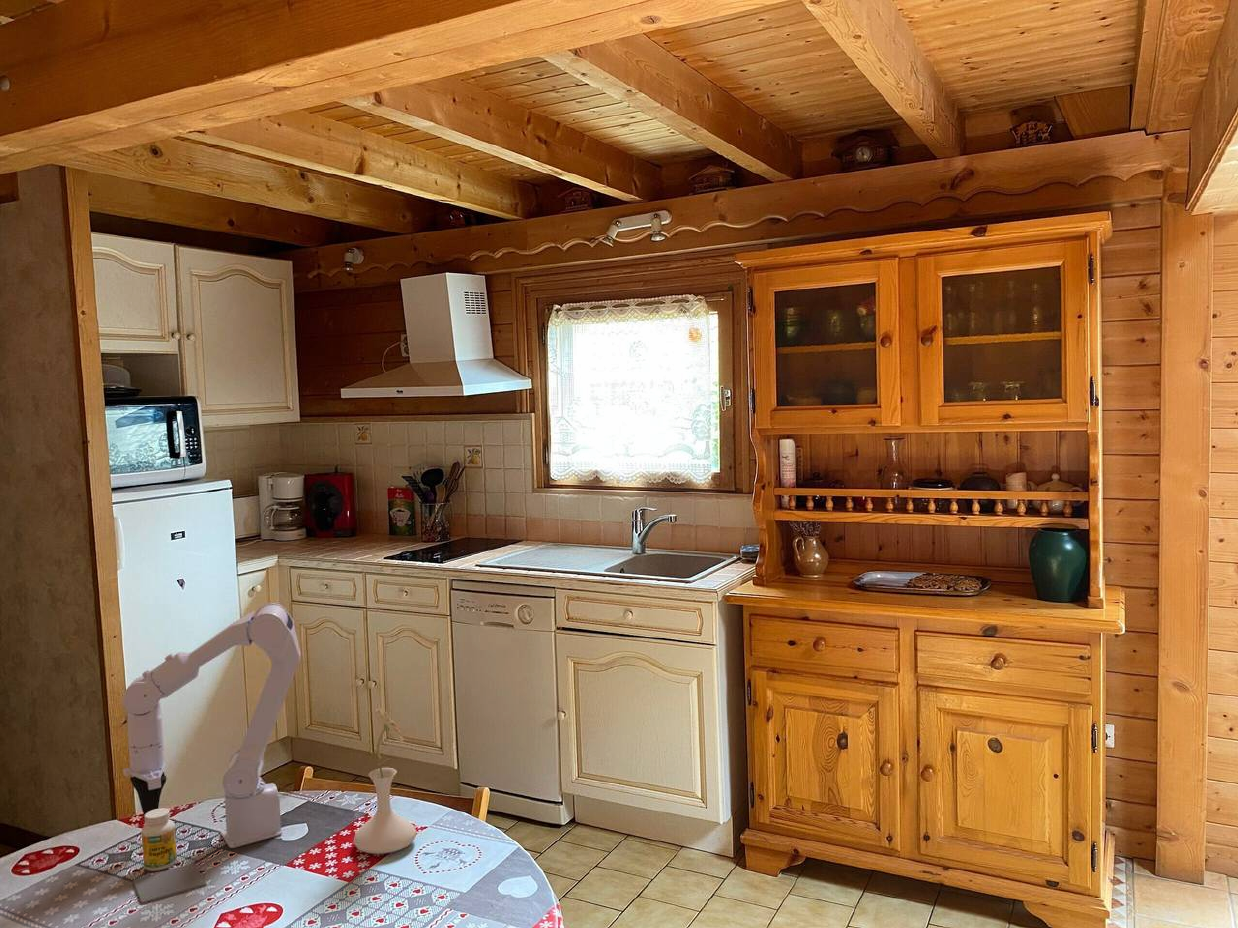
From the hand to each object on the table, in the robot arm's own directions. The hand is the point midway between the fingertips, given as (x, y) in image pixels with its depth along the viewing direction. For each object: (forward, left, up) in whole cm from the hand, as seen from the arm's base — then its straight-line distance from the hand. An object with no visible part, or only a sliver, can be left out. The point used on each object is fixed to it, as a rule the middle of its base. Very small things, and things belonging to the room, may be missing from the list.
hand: (150, 813), depth 179 cm
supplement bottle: (0, +8, -7) cm, 10 cm away
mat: (0, +17, -6) cm, 18 cm away
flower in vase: (-36, +25, -7) cm, 44 cm away
